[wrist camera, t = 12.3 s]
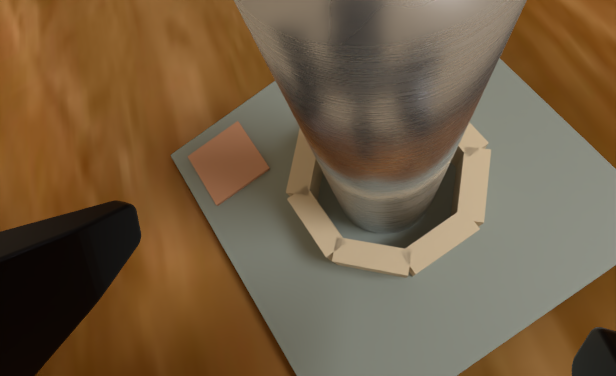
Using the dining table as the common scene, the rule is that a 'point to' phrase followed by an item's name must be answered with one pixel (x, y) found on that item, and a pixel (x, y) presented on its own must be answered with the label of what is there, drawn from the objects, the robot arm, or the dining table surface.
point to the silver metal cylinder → (382, 90)
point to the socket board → (408, 236)
